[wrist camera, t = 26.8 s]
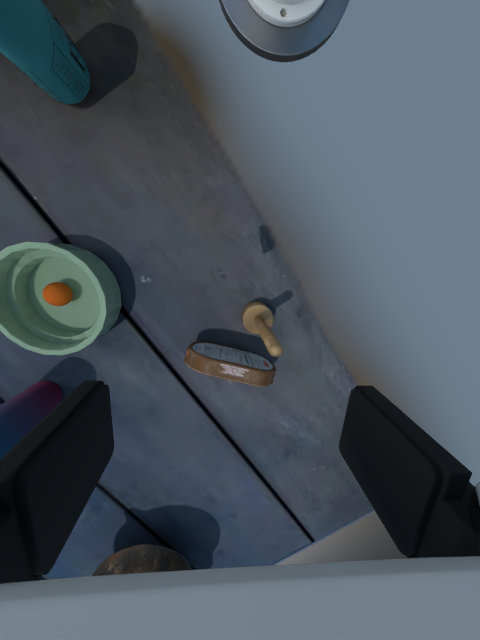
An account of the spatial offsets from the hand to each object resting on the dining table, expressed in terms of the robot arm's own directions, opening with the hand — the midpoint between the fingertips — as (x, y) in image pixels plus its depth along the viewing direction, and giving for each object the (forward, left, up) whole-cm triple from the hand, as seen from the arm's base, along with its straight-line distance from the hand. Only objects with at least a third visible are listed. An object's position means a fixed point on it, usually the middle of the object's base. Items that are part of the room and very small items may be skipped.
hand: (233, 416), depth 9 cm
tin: (+11, +2, -32) cm, 34 cm away
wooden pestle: (+4, +6, -32) cm, 33 cm away
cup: (+20, -30, -32) cm, 49 cm away
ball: (+2, -25, -30) cm, 39 cm away
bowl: (+2, -24, -32) cm, 40 cm away
